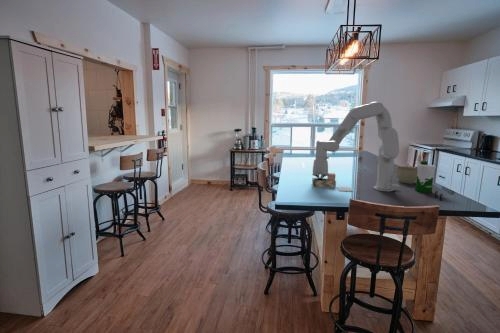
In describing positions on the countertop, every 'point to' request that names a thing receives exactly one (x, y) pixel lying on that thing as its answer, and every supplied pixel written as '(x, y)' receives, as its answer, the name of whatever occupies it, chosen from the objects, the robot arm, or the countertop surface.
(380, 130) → the robot arm
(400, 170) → the planter bowl
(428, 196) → the countertop surface
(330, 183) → the shelf bay
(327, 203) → the countertop surface
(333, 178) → the blank block
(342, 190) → the tile pad
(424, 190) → the milk carton
